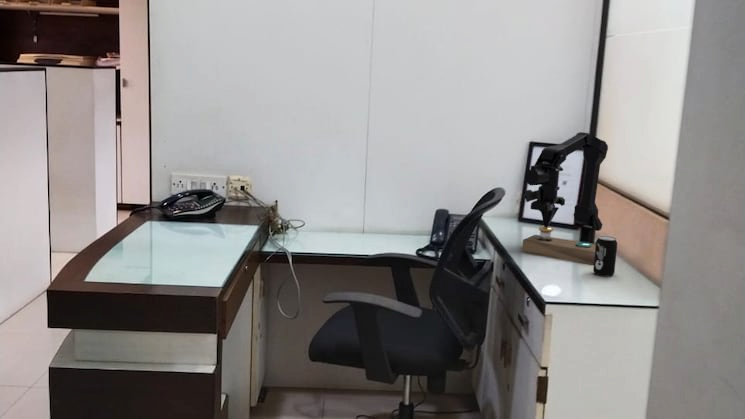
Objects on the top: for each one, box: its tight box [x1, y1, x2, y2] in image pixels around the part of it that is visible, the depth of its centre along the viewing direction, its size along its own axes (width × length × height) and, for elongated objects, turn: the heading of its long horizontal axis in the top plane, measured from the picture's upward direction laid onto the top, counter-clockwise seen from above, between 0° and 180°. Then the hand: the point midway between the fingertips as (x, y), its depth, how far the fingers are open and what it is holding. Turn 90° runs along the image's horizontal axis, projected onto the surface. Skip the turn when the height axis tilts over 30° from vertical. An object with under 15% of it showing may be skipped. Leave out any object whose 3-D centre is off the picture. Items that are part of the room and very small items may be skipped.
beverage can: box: [592, 235, 618, 277], centre depth 238 cm, size 7×7×12 cm
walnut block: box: [521, 234, 596, 266], centre depth 262 cm, size 12×26×4 cm, turn 57°
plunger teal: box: [576, 242, 591, 248], centre depth 258 cm, size 5×5×5 cm
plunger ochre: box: [538, 225, 554, 242], centre depth 265 cm, size 5×5×5 cm
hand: (546, 226), depth 265 cm, fingers closed
